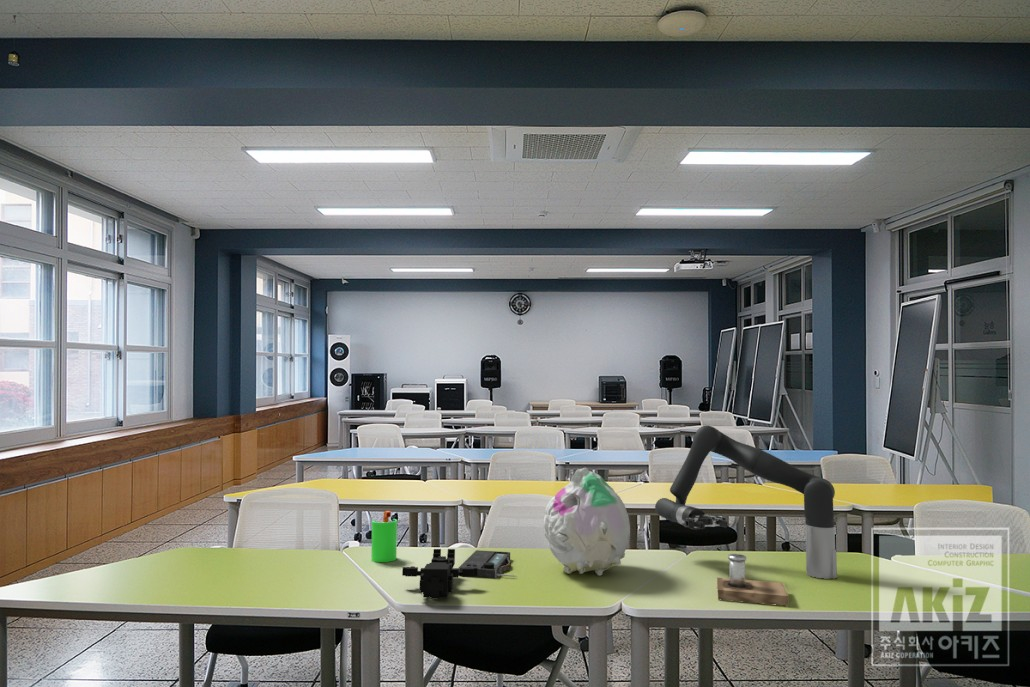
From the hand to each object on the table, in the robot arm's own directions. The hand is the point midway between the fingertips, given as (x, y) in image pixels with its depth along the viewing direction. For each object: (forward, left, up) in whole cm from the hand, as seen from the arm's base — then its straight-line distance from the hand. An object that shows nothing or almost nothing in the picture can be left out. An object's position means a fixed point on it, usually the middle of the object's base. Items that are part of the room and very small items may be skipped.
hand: (715, 525), depth 223 cm
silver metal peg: (-6, +12, -19) cm, 23 cm away
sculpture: (+44, +1, -19) cm, 47 cm away
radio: (+75, +7, -19) cm, 78 cm away
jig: (-10, +13, -19) cm, 25 cm away
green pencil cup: (+118, +9, -19) cm, 119 cm away
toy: (+85, +36, -19) cm, 94 cm away
